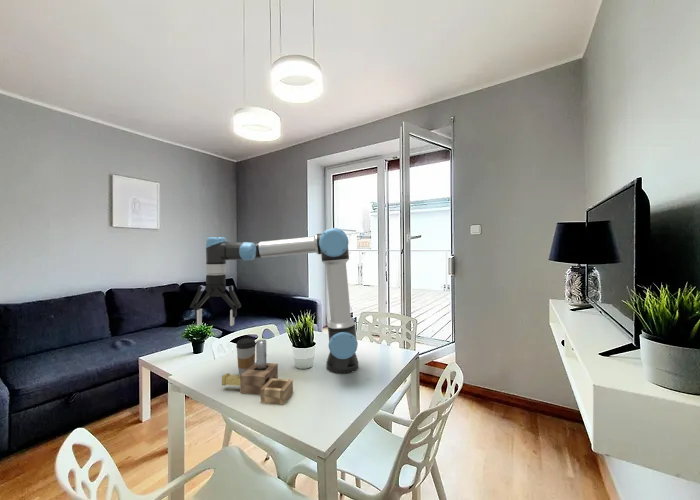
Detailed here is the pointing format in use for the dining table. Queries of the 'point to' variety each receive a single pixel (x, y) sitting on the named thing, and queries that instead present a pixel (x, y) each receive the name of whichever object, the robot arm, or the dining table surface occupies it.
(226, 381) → the drift key
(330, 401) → the dining table surface
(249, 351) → the coffee cup
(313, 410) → the dining table surface
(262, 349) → the grey metal rod
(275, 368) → the socket block
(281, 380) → the block
